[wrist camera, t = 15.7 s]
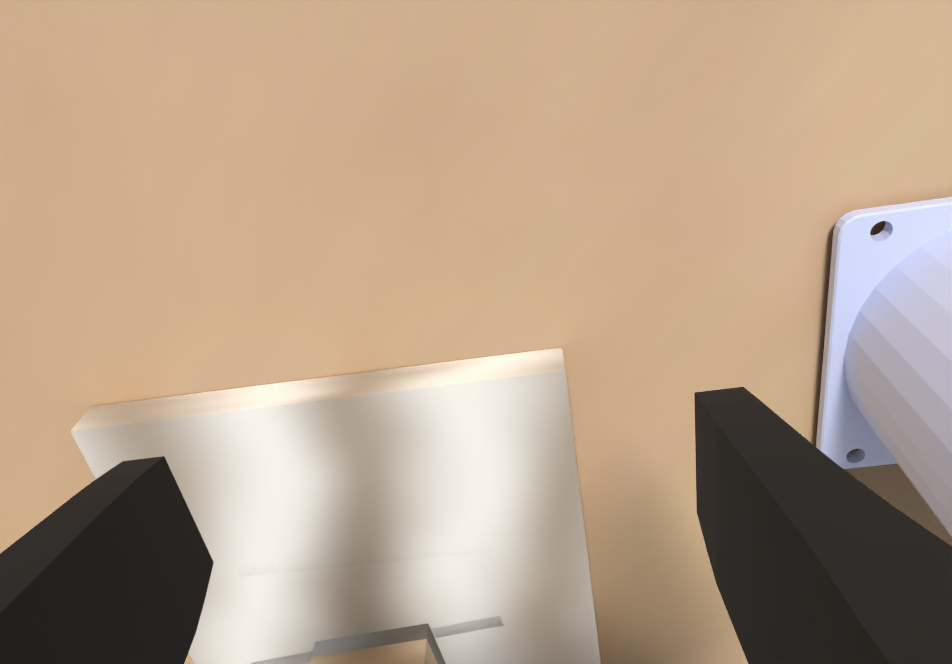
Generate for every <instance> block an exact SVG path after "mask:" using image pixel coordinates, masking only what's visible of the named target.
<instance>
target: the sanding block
mask: <svg viewBox="0 0 952 664" xmlns="http://www.w3.org/2000/svg"><path fill="white" fill-rule="evenodd" d="M310 664H446V663H445V661H444V659H443V656H442V654H441V652H440V649H439V647H438V645H437V643H436V640H435V638H434V636H433V633H432V631H431V629H430V627H429V624H428V623H427V624H421V625H414V626H408V627H402V628H396V629H390V630H384V631H378V632H371V633H365V634H359V635H353V636H347V637H341V638H335V639H328V640H322V641H316V642H315V645H314V649H313V653H312V657H311V661H310Z"/></svg>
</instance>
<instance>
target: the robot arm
mask: <svg viewBox="0 0 952 664" xmlns="http://www.w3.org/2000/svg"><path fill="white" fill-rule="evenodd" d="M881 221H885V226H884V229H883V230H882V231H881V232H880V233H878V234H876V235H870V232H871V229H872V227H873V226H874V225H875V224H876V223H879V222H881ZM695 437H696V490H697V514H698V518H699V522H700V525H701V529H702V533H703V537H704V540H705V544H706V548H707V552H708V555H709V559H710V562H711V566H712V569H713V573H714V576H715V580H716V583H717V586H718V588H719V591H720V594H721V596H722V599H723V601H724V604H725V606H726V609H727V611H728V614H729V616H730V619H731V621H732V624H733V626H734V629H735V631H736V634H737V636H738V639H739V641H740V644H741V646H742V649H743V651H744V654H745V656H746V658H747V661H748V663H749V664H952V546H950V545H949V544H947V543H946V542H944V541H943V540H941V539H940V538H938V537H937V536H935V535H934V534H933V533H931V532H930V531H928V530H927V529H925V528H924V527H922V526H921V525H919V524H918V523H916V522H915V521H914V520H912V519H911V518H909V517H908V516H906V515H905V514H903V513H902V512H900V511H899V510H897V509H896V508H895V507H893V506H892V505H891V504H889V503H888V502H886V501H885V500H884V499H882V498H881V497H880V496H878V495H877V494H876V493H874V492H873V491H872V490H870V489H869V488H868V487H867V486H865V485H864V484H863V483H861V482H860V481H859V480H857V479H856V478H855V477H853V476H852V475H851V474H850V473H848V472H847V471H846V470H844V469H851V468H861V467H870V466H880V465H889V464H898V465H899V466H900V468H901V469H902V470H903V472H904V473H905V475H906V476H907V477H908V479H909V480H910V481H911V483H912V484H913V485H914V487H915V488H916V489H917V491H918V492H919V493H920V495H921V496H922V498H923V499H924V500H925V502H926V503H927V504H928V506H929V507H930V508H931V510H932V511H933V512H934V514H935V515H936V516H937V518H938V519H939V521H940V522H941V523H942V525H943V526H944V527H945V529H946V530H947V531H948V533H949V534H950V535H951V537H952V197H946V198H939V199H932V200H924V201H917V202H910V203H903V204H896V205H888V206H881V207H874V208H867V209H859V210H854V211H851V212H848V213H846V214H845V215H844V216H842V217H841V218H840V219H839V220H838V222H837V223H836V224H835V228H834V231H833V241H832V254H831V266H830V278H829V291H828V303H827V315H826V328H825V340H824V353H823V365H822V377H821V390H820V402H819V415H818V427H817V439H816V447H815V446H814V445H813V444H812V443H810V442H809V441H808V440H807V439H806V438H804V437H803V436H802V435H801V434H799V433H798V432H797V431H796V430H795V429H793V428H792V427H791V426H790V425H789V424H787V423H786V422H785V421H784V420H783V419H781V418H780V417H779V416H778V415H777V414H776V413H774V412H773V411H772V410H771V409H770V408H768V407H767V406H766V405H765V404H764V403H762V402H761V401H760V400H759V399H758V398H756V397H755V396H754V395H753V394H751V393H750V392H749V391H748V390H747V389H745V388H744V387H738V388H730V389H721V390H713V391H705V392H696V393H695ZM854 449H858V450H857V451H856V452H855V453H853V454H848V453H849V452H850V451H851V450H854ZM213 563H214V562H213V560H212V557H211V555H210V553H209V551H208V549H207V547H206V545H205V542H204V540H203V538H202V536H201V534H200V532H199V530H198V527H197V525H196V523H195V521H194V519H193V517H192V515H191V512H190V510H189V508H188V506H187V504H186V502H185V500H184V497H183V495H182V493H181V491H180V489H179V487H178V485H177V482H176V480H175V478H174V476H173V474H172V472H171V470H170V467H169V465H168V463H167V461H166V459H165V457H164V456H162V457H153V458H145V459H137V460H128V461H122V462H121V463H119V464H118V465H116V466H115V467H113V468H112V469H110V470H109V471H107V472H106V473H104V474H103V475H102V476H100V477H99V478H97V479H96V480H95V481H93V482H92V483H91V484H89V485H88V486H87V487H85V488H84V489H83V490H81V491H80V492H79V493H77V494H76V495H75V496H73V497H72V498H71V499H70V500H68V501H67V502H66V503H64V504H63V505H62V506H61V507H59V508H58V509H57V510H55V511H54V512H53V513H52V514H50V515H49V516H48V517H47V518H45V519H44V520H43V521H42V522H40V523H39V524H38V525H36V526H35V527H34V528H33V529H31V530H30V531H29V532H28V533H26V534H25V535H24V536H22V537H21V538H20V539H19V540H17V541H16V542H15V543H14V544H12V545H11V546H10V547H8V548H7V549H6V550H5V551H3V552H2V553H1V554H0V664H184V662H185V660H186V657H187V655H188V652H189V649H190V647H191V644H192V642H193V639H194V636H195V634H196V631H197V627H198V623H199V620H200V616H201V612H202V609H203V605H204V602H205V597H206V593H207V589H208V585H209V580H210V576H211V572H212V568H213Z"/></svg>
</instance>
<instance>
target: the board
mask: <svg viewBox="0 0 952 664" xmlns="http://www.w3.org/2000/svg"><path fill="white" fill-rule="evenodd" d="M70 432H71V433H72V435H73V437H74V439H75V441H76V443H77V445H78V447H79V448H80V450H81V452H82V454H83V456H84V458H85V460H86V462H87V463H88V465H89V467H90V469H91V471H92V473H93V475H94V477H95V478H96V479H97V478H99V477H100V476H102V475H103V474H104V473H106V472H107V471H109V470H110V469H112V468H113V467H115V466H116V465H118V464H119V463H121V462H122V461H128V460H137V459H145V458H153V457H162V456H164V457H165V459H166V461H167V463H168V465H169V467H170V470H171V472H172V474H173V476H174V478H175V480H176V482H177V485H178V487H179V489H180V491H181V493H182V495H183V497H184V500H185V502H186V504H187V506H188V508H189V510H190V512H191V515H192V517H193V519H194V521H195V523H196V525H197V527H198V530H199V532H200V534H201V536H202V538H203V540H204V542H205V545H206V547H207V549H208V551H209V553H210V555H211V557H212V560H213V562H214V563H213V568H212V572H211V576H210V580H209V585H208V589H207V593H206V597H205V602H204V605H203V609H202V612H201V616H200V620H199V623H198V627H197V631H196V634H195V636H194V639H193V642H192V644H191V647H190V649H189V652H188V653H189V655H190V657H191V659H192V660H193V662H194V664H310V661H311V657H312V653H313V649H314V645H315V642H316V641H322V640H328V639H335V638H341V637H347V636H353V635H359V634H365V633H371V632H378V631H384V630H390V629H396V628H402V627H408V626H414V625H421V624H427V623H428V624H429V627H430V629H431V631H432V633H433V636H434V638H435V640H436V643H437V645H438V647H439V649H440V652H441V654H442V656H443V659H444V661H445V663H446V664H601V661H600V653H599V645H598V636H597V628H596V620H595V611H594V603H593V595H592V586H591V578H590V570H589V561H588V553H587V545H586V536H585V528H584V520H583V511H582V503H581V495H580V486H579V478H578V470H577V461H576V453H575V445H574V436H573V428H572V420H571V411H570V403H569V395H568V386H567V378H566V370H565V363H564V357H563V350H562V348H554V349H546V350H538V351H530V352H522V353H514V354H506V355H498V356H490V357H482V358H474V359H467V360H459V361H451V362H443V363H435V364H427V365H419V366H411V367H403V368H395V369H387V370H379V371H371V372H363V373H355V374H347V375H339V376H331V377H323V378H315V379H307V380H299V381H291V382H283V383H275V384H267V385H259V386H251V387H243V388H235V389H227V390H219V391H211V392H203V393H195V394H187V395H179V396H171V397H163V398H155V399H147V400H140V401H132V402H124V403H116V404H108V405H100V406H92V407H90V408H89V409H88V411H87V412H86V413H85V414H84V415H83V417H82V418H81V419H80V420H79V421H78V423H77V424H76V425H75V426H74V427H73V429H72V430H71V431H70Z"/></svg>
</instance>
